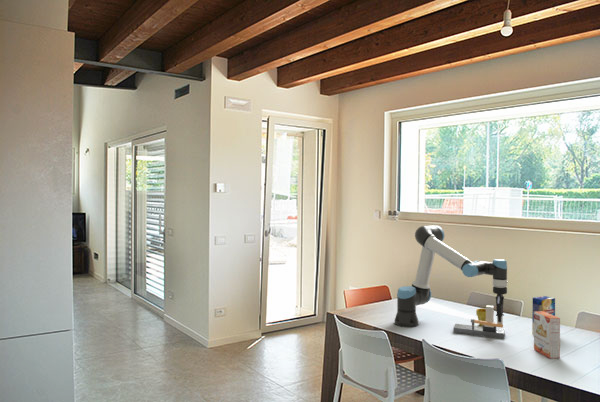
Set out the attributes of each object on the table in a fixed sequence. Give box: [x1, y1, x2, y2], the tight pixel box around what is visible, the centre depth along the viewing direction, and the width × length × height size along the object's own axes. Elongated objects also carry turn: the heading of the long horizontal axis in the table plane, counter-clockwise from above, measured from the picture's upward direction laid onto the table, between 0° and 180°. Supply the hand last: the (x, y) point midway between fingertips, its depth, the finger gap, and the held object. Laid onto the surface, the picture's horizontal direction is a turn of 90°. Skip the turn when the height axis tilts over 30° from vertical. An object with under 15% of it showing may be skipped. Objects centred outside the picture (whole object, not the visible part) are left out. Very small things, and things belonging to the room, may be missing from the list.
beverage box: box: [531, 295, 556, 336], centre depth 279 cm, size 7×11×22 cm, turn 116°
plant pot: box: [476, 308, 486, 327], centre depth 298 cm, size 10×10×10 cm
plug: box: [485, 304, 496, 328], centre depth 277 cm, size 6×8×14 cm
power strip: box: [453, 323, 506, 340], centre depth 281 cm, size 28×10×6 cm, turn 64°
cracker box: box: [533, 311, 561, 360], centre depth 244 cm, size 14×6×21 cm, turn 5°
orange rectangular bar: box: [470, 318, 504, 329], centre depth 274 cm, size 18×3×6 cm, turn 48°
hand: (499, 327), depth 270 cm, fingers closed
